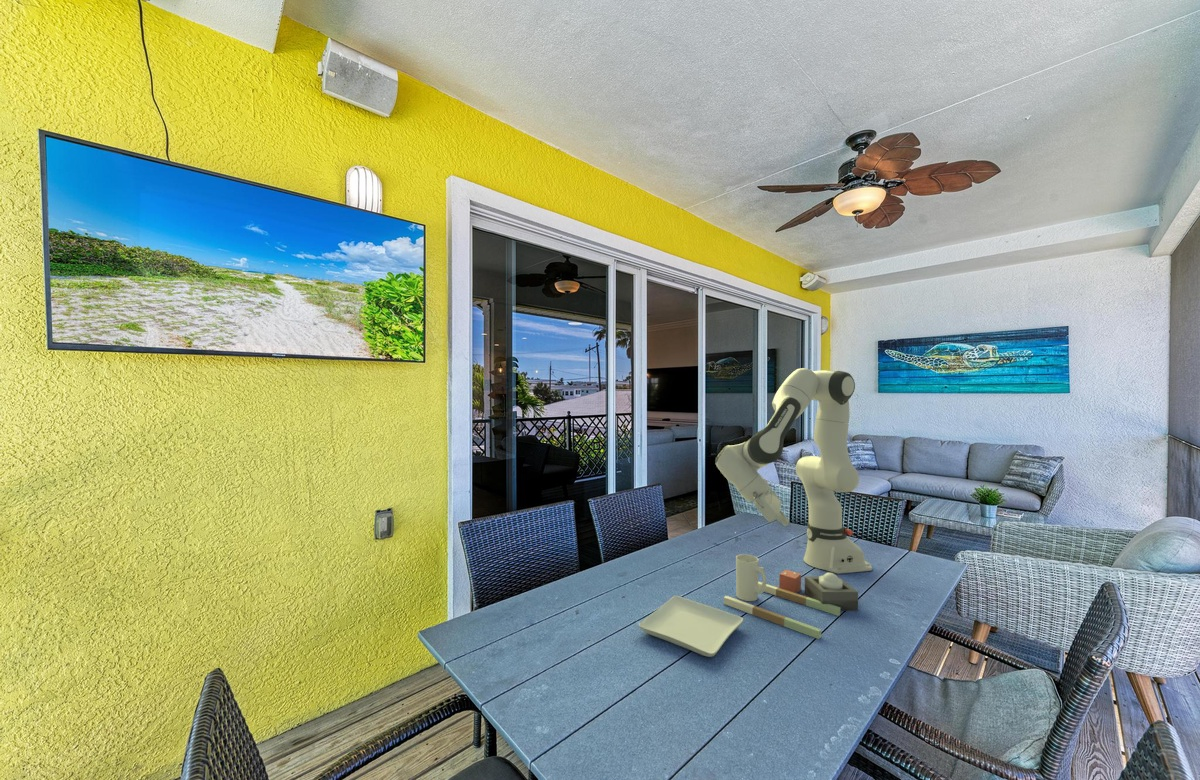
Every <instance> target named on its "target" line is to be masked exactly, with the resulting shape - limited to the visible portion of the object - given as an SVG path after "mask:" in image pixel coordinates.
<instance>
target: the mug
mask: <svg viewBox="0 0 1200 780" xmlns="http://www.w3.org/2000/svg"><path fill="white" fill-rule="evenodd" d="M759 560H760V559H759V557H757V556H754V555H752V554H746V553H745V554H744V553H740V554H738V555H735V578H736V579H735V585H736V586H735V587H736V588H735V591H736V593H735V594H736V597H737V598H738V600H740V601H743V602H755V601H757V600H758V598H759V597H758V595H762V594H763V593H764V589H765V587H766V584H767V575H766V573H765V570H764V569H765V568H764V567H762V566H760V565H759V562H760V561H759ZM759 574H760V576H761V578H762V581H761V582H762V586H761V588H758V582H759Z"/></svg>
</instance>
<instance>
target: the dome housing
mask: <svg viewBox="0 0 1200 780" xmlns="http://www.w3.org/2000/svg"><path fill="white" fill-rule="evenodd" d="M837 577H838V578H839V579H841V580H842V582H843V586H842V589H824V588H823V587H821V586H820V585H819V576H804V596H806V597H809V598H812V599H816V600H819V601H820V602H821V603H822V604H831V605H835V606H838V607H840V612H842V611H848V612H849V610H850V611H851V612H853V611H855V610H858V611H859V591H858V590H857V589H856V588H854V587H853V586H851V585H850V584H848V583H847V582H846V581H844V580H843V579H842V578H841V577H839V576H837ZM855 612H856V611H855Z"/></svg>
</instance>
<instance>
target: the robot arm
mask: <svg viewBox="0 0 1200 780" xmlns="http://www.w3.org/2000/svg"><path fill="white" fill-rule="evenodd" d="M779 386H780V387H779V388H778V390H777V391H776V393H775V395H774V396H773V399H772V402H771V405H772V408H773V411H774V414H772V416H771V418H770V420H769V422H768V423H767V424H766V426H765V427H763V428H762V429H760V430H759V431H758V432H756V433H755V434H753V435H752V436H751V438H749V439H748V440H747V441H744V442H742V443H739V444H738V443H737V444H734V445H732V444H731V445H729V444H727V445H725V446H724V447H723V448H722V450H720V452H719V453H718V454H717V456H716V457H715V460H714V462H715V465H716V468H717V469H718V470H719V471H720V474H722V475H723V477H724V478H726V480H727V481H728V482H729V483H731V484H732V485H733V486H734V487H735V488H736V490H737V492H738V493H739V494H740V495H741V496H742V497H743V499H745V500H746V501H747V502H748V503H749V504H750V503H751V502H752V503H753V505H754V507H755V508H756V510H757V511H759V513H760V514H761V515H762V517H763V518H765V519H766V520H767V522H769V523H774V522H775V521H776V520H777V521H778V522H779V523H781V525H783V526H784V527H787V526H788V525H789V524H790V520H789V518H787V517H786V515H785V514H784V511H782V510H781V507H782V501H781V499H780V498H779V496H778V495H777V494H776V493H775V491H774V490H773V489H772V488H771V487H770V483H768V481H767V480H766V479H765V478H764V477H763V476H762V475H761V474H760V473H759V472H758V470H760V469H762V468H763V467H766V466H768V465H769V464H772V463H775V462H776V461H778V460H779V459H780V458H781V456H782V454H783V450H784V441H785V437H786V436H787V434H788V432H789V431H790V429H791V427H792V425H793V423H794V422H795V420H797V419H798V418H799V417H800V416H801V415H802V414H803V413H804V412H805V410H806V409H807V408H808V406H809V405H810V403H811V401H818V405H817V410H816V414H815V415H816V416H815V422H814V431H813V441H814V444H815V445H816V446H817V448H818V450H819V454H820V455H819V456H817V455H807V456H806V455H805V456H802V457H800V458H799V459H798V461H797V463H796V465H795V473H796V476H797V477H798V478H799V480H800V481H801V483H802V485H803V487H804V491H805V494H806V497H807V503H808V522H807V527H806V528H807V529H806V536H807V542H806V543H807V544H806V549H805V554H804V556H803V562H804V563H805V564H807V565H809V566H810V567H813V568H816V569H820V570H824V571H827V572H830V573H833V574H839V575H840V574H848V573H849V574H850V573H859V572H869V571H873V567H872V565H871V564H870V563H869V562H868V561H867V560H866V559H865V554H864V551H863V550H862V548H861V547H860V546H858V544H856V543H855V542H853V541H852V539H849V537H850V536H852V535H853V530H851V529H849V528H845V527H844V526H843V506H842V505H841V502H840V501H839V500H838V499H837V497H836V495H835V493H834V492H836V493H850V492H852V491H854V490H855V489H856V488H857V487H858V484H859V483H860V475H859V472H858V470H857V469H856V467H855V466H854V464H853V463H852V461H851V458H850V455H849V449H848V436H849V435H848V434H849V424H850V399H851V398H852V396H853V394H854V392H855V389H856V383H855V379H854V377H853V376H852V374H850V373H849V372H846V371H842V370H827V369H825V370H824V369H823V370H811V369H809V368H805V367H802V368H797V369H795V370H794V371H793V372H792V373H791V374H789V375H788V376H787V378H785V380H783V382H782V384H781V385H779ZM847 536H849V537H847Z"/></svg>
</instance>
